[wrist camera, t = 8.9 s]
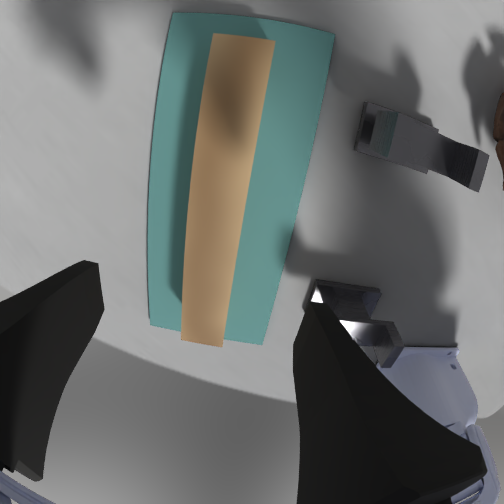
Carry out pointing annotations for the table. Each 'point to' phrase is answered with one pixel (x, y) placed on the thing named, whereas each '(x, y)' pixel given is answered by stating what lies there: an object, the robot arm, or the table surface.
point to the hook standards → (418, 158)
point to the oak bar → (221, 180)
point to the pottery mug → (500, 132)
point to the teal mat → (263, 169)
